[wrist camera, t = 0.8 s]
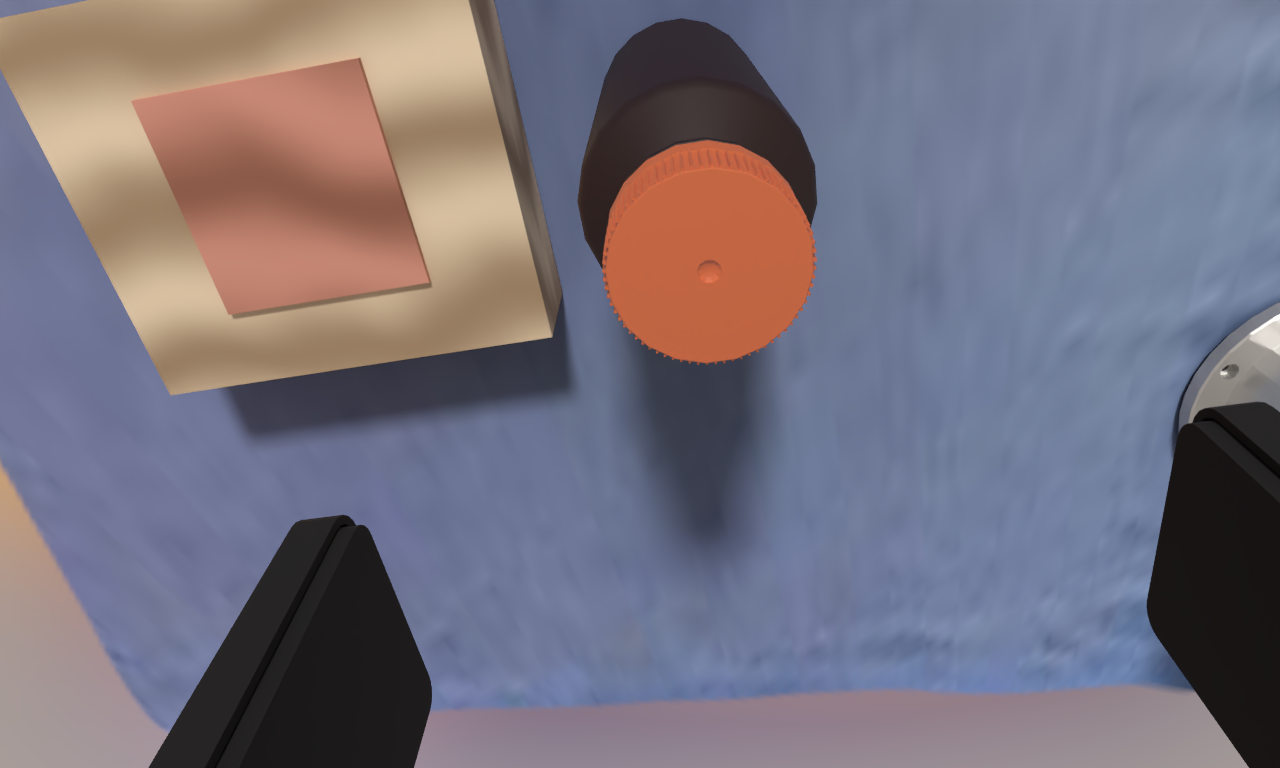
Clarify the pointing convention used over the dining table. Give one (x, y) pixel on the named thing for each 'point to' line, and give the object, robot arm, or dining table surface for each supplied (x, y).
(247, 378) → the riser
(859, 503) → the dining table surface
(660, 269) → the vinegar
